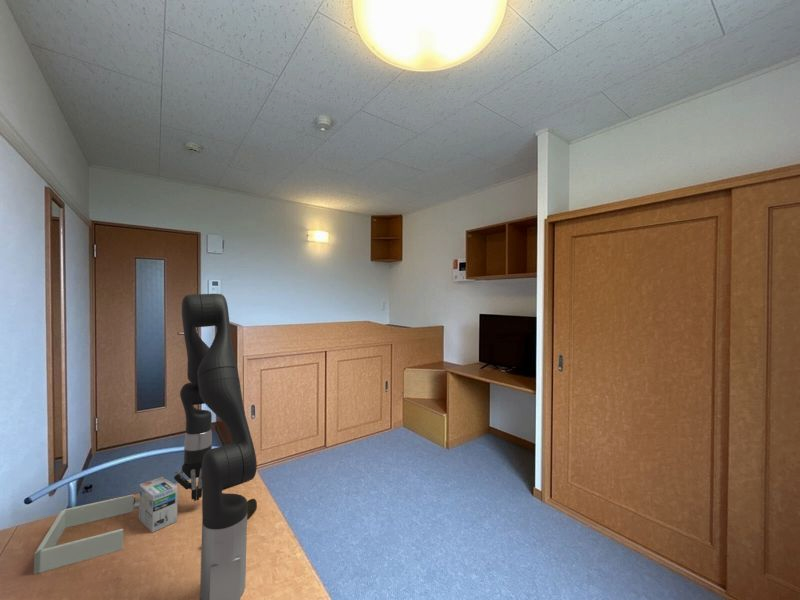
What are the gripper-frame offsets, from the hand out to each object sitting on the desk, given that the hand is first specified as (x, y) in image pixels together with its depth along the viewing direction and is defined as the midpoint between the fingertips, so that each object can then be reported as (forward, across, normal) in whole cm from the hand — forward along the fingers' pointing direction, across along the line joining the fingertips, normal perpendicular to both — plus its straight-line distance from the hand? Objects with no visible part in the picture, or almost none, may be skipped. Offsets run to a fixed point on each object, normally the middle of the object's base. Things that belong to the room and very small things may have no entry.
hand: (196, 499), depth 107 cm
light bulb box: (+4, -10, 0) cm, 11 cm away
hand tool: (+4, +9, -15) cm, 18 cm away
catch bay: (+4, -25, 0) cm, 25 cm away
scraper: (+4, -23, +13) cm, 27 cm away
